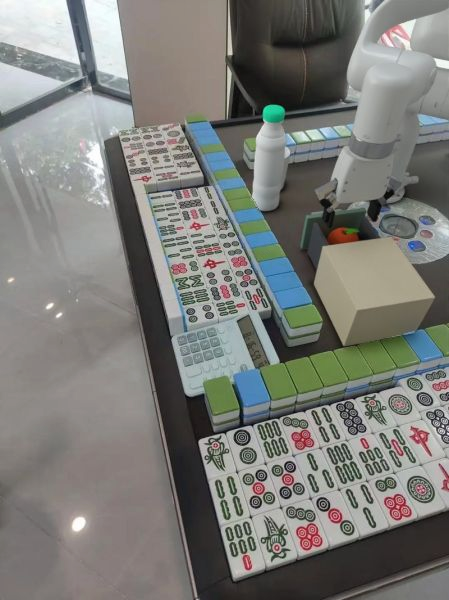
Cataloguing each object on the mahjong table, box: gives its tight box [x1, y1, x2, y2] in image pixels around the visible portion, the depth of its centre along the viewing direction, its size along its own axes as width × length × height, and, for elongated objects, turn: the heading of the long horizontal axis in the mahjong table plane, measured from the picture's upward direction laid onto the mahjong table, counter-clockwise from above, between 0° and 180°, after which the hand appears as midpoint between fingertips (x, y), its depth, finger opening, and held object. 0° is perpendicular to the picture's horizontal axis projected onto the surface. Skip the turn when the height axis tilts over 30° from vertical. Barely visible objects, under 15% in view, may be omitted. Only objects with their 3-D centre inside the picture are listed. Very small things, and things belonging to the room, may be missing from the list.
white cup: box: [280, 145, 291, 191], centre depth 113 cm, size 8×8×10 cm
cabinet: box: [313, 236, 436, 347], centre depth 84 cm, size 17×15×11 cm
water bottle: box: [251, 104, 288, 212], centre depth 102 cm, size 7×7×25 cm
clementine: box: [327, 228, 362, 245], centre depth 93 cm, size 8×7×7 cm
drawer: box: [299, 207, 381, 271], centre depth 93 cm, size 20×14×9 cm
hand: (349, 220), depth 88 cm, fingers open, 9 cm apart
